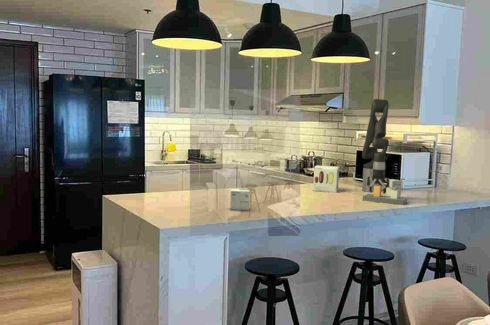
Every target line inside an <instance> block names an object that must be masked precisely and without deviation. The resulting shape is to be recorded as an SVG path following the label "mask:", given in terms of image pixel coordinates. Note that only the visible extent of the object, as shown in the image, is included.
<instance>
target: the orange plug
mask: <svg viewBox="0 0 490 325" xmlns="http://www.w3.org/2000/svg"><path fill="white" fill-rule="evenodd" d="M382 188H383V186H382V185H381V184H378V183H377V184H375V186H374V192H373V194H374V195H373V196H374V197H381V195H382Z"/></svg>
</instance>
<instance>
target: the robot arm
mask: <svg viewBox="0 0 490 325" xmlns="http://www.w3.org/2000/svg"><path fill="white" fill-rule="evenodd" d="M376 113H378V114H379V113H380V114H382V115H381V117H380V118H379V119H378V118H377V115H376ZM388 114H389V101H388V100H387V99H382V98H380V99H379V98H374V99H373V100H372V101H371V106H370V115H369V121H368V125H367V129H366V134H365V135H366V136H365V141H364V144H363V148H362V153H361V157H362V159H364V160H371V161H369V162H367V163H364V164H363V170H362V186H361V187H362V189H361V191H362V192H366V193H370V194H371V193H372V194H373V193H374V186H375V185H376V184H377V183H378V184H380V185H381V186H382V188H383V191H382V194H383V195H386V188H388V187H389V179H390V178H389V177H388V178H387V177H385V173H386V172H385V171H386V154H387V151H388V148H389V145H390V141H389V140H388V138H385V137H386V135H387V121H388ZM378 150H381V151H380V152H379V151H378ZM385 182H386V184H385Z"/></svg>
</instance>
